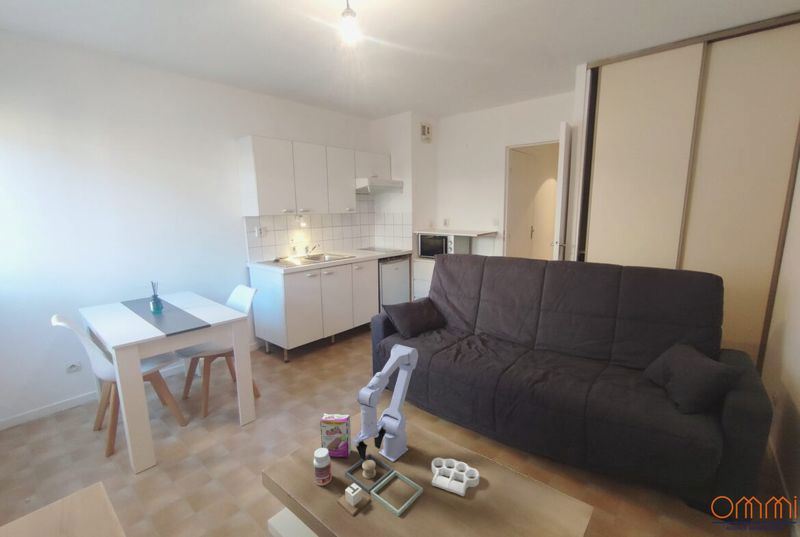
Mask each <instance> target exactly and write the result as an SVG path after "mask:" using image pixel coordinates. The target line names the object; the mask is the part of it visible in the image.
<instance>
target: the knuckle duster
mask: <svg viewBox="0 0 800 537" xmlns="http://www.w3.org/2000/svg"><path fill="white" fill-rule="evenodd" d="M449 467H451V468H449ZM461 471H462V472H461ZM431 473H432V474H433V478H432V481H431V485H432V486H433V487H437V488H438V489H443V490H445V491H446V492H451V493H453V494H456V495H459V496H461V497H464V496H465V495H466V492H467V489H468V488H475V487H477V486H478V485H479V484H480V472H479V471H478V470H477V468H473V467H471V466H469V465H468V464H467V463H465V462H463V461H458V460H456V459H455V458H442V457H435V458H433V459H432V461H431ZM445 476H446V477H445ZM448 477H449V478H448ZM471 477H472V478H471ZM457 480H458V481H457ZM460 481H462V482H460Z"/></svg>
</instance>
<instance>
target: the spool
mask: <svg viewBox="0 0 800 537" xmlns="http://www.w3.org/2000/svg"><path fill="white" fill-rule="evenodd" d="M376 463H377V462H375V461H374V460H372V459H368V460H366V461H364V462H363V463H362V464H361V466H362V467H361V468H362V469H363V470H362V477H363V478H364V479H366V480H373V478H375V477H376V475H377V471H376V467H377V466H376Z"/></svg>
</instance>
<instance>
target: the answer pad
mask: <svg viewBox="0 0 800 537" xmlns="http://www.w3.org/2000/svg"><path fill="white" fill-rule="evenodd" d="M370 501H371V497H369V496H368V495H366V494H365V492H363V491H362V500H360V501H359V502H358V503H357V504H356V505H355V506H352V505H351V504H350V503H348V502H347V501H346V499H345V493H344V494H343V495H342V496H341V497H340V498H338V499H337V500H336V504H337V503H338V505H340V506H341V508H343V509H344V510H345V511H346V512H348V513H349V514H350V515H351V516H354V515H355V514H357V513H358V512H359V511H360V510H362V509H363V508H364V507H365V506H366V505H367V504H368V503H369V502H370Z"/></svg>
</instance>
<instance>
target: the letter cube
mask: <svg viewBox="0 0 800 537" xmlns="http://www.w3.org/2000/svg"><path fill="white" fill-rule="evenodd" d="M362 492H363V489H362V488H361V487H359V486H358V485H357V484H355V483H354V482H352V484H350V485H349V486H347V487H346V488H345V490H344V494H345V499H346V501H347V502H348V503H350V504H351V505H352V506H355V505H356V504H357V503H358V502H359V501H360V500H362Z"/></svg>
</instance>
